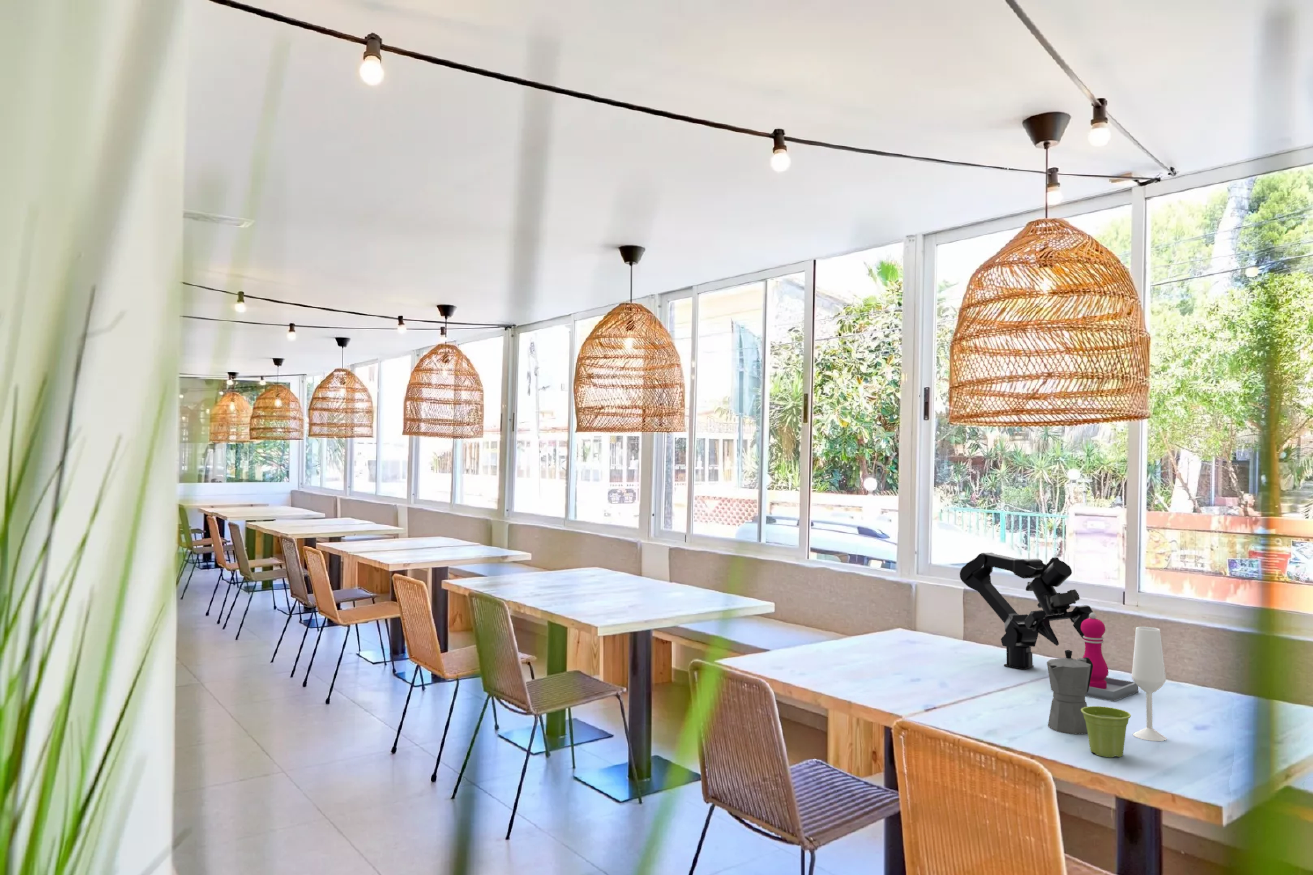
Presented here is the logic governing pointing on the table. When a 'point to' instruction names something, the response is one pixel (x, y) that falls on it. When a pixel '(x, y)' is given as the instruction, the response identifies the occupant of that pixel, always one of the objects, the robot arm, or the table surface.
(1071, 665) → the coffeepot
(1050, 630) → the robot arm
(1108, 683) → the tray
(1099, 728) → the plant pot
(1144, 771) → the table surface
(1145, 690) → the champagne flute
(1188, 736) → the table surface
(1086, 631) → the pepper mill
